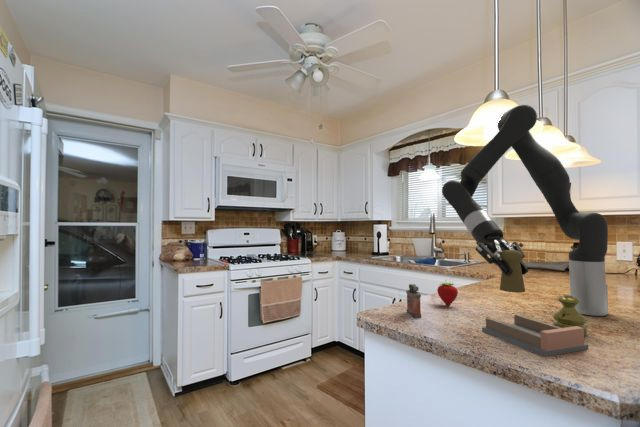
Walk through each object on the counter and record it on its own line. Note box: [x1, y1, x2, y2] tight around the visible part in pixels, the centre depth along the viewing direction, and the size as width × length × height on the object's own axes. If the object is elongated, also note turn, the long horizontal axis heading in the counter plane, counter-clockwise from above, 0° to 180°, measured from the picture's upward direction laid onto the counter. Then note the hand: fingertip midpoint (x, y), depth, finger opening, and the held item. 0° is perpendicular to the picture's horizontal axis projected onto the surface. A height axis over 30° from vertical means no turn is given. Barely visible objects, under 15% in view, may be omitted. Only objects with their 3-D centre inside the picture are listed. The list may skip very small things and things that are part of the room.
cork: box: [499, 250, 526, 294], centre depth 88 cm, size 6×6×11 cm
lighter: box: [405, 283, 422, 319], centre depth 106 cm, size 8×3×10 cm, turn 5°
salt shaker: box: [552, 294, 588, 337], centre depth 87 cm, size 7×8×10 cm
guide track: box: [481, 314, 590, 357], centre depth 82 cm, size 14×18×5 cm
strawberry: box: [436, 279, 459, 307], centre depth 116 cm, size 6×8×10 cm
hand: (517, 273), depth 86 cm, fingers closed on cork, 4 cm apart
